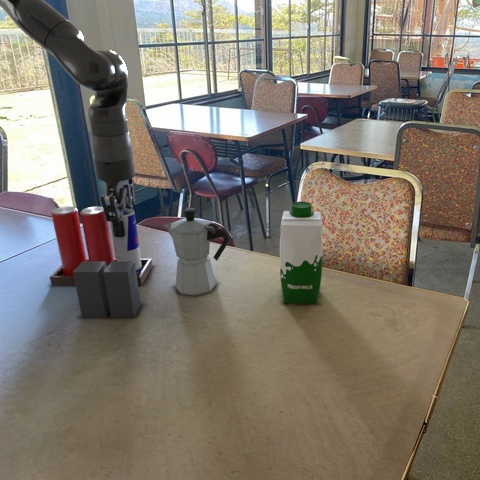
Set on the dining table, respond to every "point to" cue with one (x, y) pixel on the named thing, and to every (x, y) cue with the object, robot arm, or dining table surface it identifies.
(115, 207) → the robot arm
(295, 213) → the milk carton
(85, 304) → the grey block
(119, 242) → the beverage can
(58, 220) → the drink can
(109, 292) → the grey block
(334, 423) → the dining table surface
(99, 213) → the drink can
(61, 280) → the can tray
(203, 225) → the coffee maker
